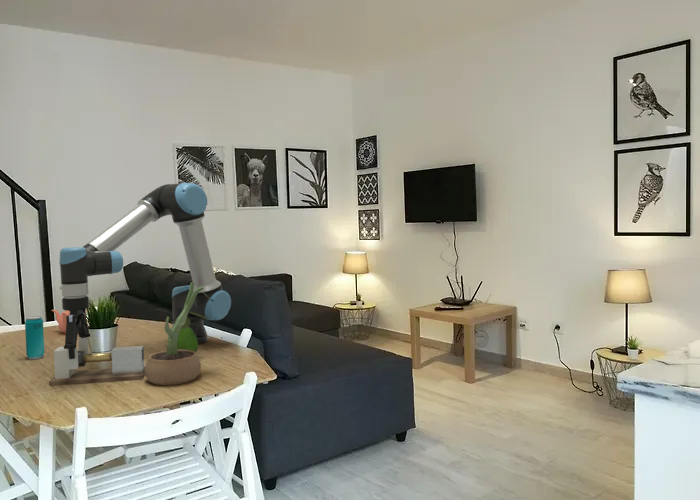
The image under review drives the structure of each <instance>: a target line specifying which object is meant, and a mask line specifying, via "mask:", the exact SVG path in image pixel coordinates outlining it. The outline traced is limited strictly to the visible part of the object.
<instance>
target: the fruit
mask: <svg viewBox="0 0 700 500" xmlns="http://www.w3.org/2000/svg"><path fill="white" fill-rule="evenodd" d="M198 348H199V344H198V341H197V338H196V336H195V334H194V332H193V330H192V329H191V328H190V327H187V328H184V329H180V332H179V336H178V340H177V350H179V349H181V350H191V351H194V352H196V353H197V351H198Z"/></svg>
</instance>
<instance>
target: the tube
mask: <svg viewBox="0 0 700 500" xmlns="http://www.w3.org/2000/svg"><path fill="white" fill-rule="evenodd" d="M101 362H112V352H111V351H110V352H108V351H107V352H93V353H92V352H91V353H90V352H89V353H88V354H86V351H85V350H82V351H79V350H78V368H79V367H80V368H81V367H86V364H87V363H101Z"/></svg>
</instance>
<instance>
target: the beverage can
mask: <svg viewBox="0 0 700 500" xmlns="http://www.w3.org/2000/svg"><path fill="white" fill-rule="evenodd" d="M24 329H25V349H26V350H25V352H26V354H25V355H26V356H27V358H28V359H29V360H40V359H43V357H44V355H45V335H44V320H43V316H42V315H34V316H33V315H32V316H27V317H26V318H25V321H24Z"/></svg>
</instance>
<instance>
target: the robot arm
mask: <svg viewBox="0 0 700 500" xmlns="http://www.w3.org/2000/svg"><path fill="white" fill-rule="evenodd" d="M207 206H208V197H207V195H206V192H205V190H204V189H203V188H202V187H201V186H199V185H198V184H195V183H191V182H190V183H189V182H179V183H167V184H163V185H161V186H158V187H157V188H155V189H153V190H152V191H151V192H149V193H148V194H146V195H145V196H143V197H142V198H141V199H140V200H138V201H137V206H135V207H134V208H133V209H130V210H129V211H128V212H127V213H126V214H124V215H123V216H122V217H121V218H119V219H117V220H116V221H115V222H114V223H113V224H111V225H110V226H108V227H107V228H106V229H105V230H103V231H102V232H100V233H99V234H98V235H97V236H95V237H94V238H93V239H91V240H90V241H89V242H88V243H86V244H85V245H83V246H74V247H64V248H62V249H60V251H59V267H60V268H59V269H60V283H61V284H60V285H61V286H59V290H60V291H61V297H62V299H61V305H62V307H61V308H62V310H64V311H70V315H67V316H66V334H65V336H64V337H65V338H64V339H65V340H64V345H63V347H64V349H67V355H68V370H69V369H74V370H78V369H79V367H78V351H82V350H85V351H86V354H89V338H91V333H90V330H89V327H88V324H87V319H86V312H87V309H88V308H90V304H89V303H90V299H89V296H88V295H89V282H88V281H89V278H88V277H92V276H101V275H113V274H117V273H120V272H121V271H122V270H123V268H124V258H123V256H122V255H123V254H121V253H120V252H119V251H118V250H117V249H118V248H119V247H121V246H122V245H123V244H124V243H126V242H127V241H128V240H130V239H131V238H132V237H134V235H136V234H137V233H138V232H140V231H141V230H142V229H143V228H145V227H146V226H148V225H149V224H150V223H152V222H154V223H155V222H157V221H159V219H161V218H163V217H167V216H171V218H172V221H173V224H175V225H176V226H178V227H179V232H180V233H179V234H180V236H181V240H182V245H183V247H184V252H185V256H186V260H187V265H188V267H189V271H190V276H191V280H192V282H193V283H194V289H193V292H194V291H195V290H196V289H197V288H199V287H202V286H203V289H204V290H201V291H200V292H198V294H197V295H196V298H195V300H194V303H193V305H192V307H191V309H190V310H189V311H191V312H194V313H197V314H200V315H203V316H205V317H207V318H208V319H209V320H208V321H220V320H222V319H224V318H225V317H226V316H227V315H228V313H229V310H230V309H231V306H232V299H231V295H230V294H229V293H228V292H227V291H226V290H223V287H222V283H221V282H220V281H219V280H217V279H216V274H215V271H214V266H213V263H212V257H211V254H210V250H209V246H208V245H209V244H208V242H207V237H206V234H205V228H204V225H203V219H204V217H206V215H205V211H206V209H207ZM189 288H190V284H189V285H183V286H176V287H174V288H173V289H172V293H171V300H172V301H171V304H172V305H171V306H172V322H174V323H172V327H173V326H174V324H175V319H176V318H177V317H179V315H180V314H181V313H182V311H183V309H184V305H185V302H186V298H187V296H188V293H189ZM203 292H204V293H205V294H206V295H207V296H208V297H209V298H210V299H211V300H212V301H211V300H210V299H209V298H208V297H207V296H206V295H205V294H204V293H203ZM85 311H86V312H85ZM187 317H188V318H189V319H190V325H189V326H188V327H190V328H191V329H192V330H193V332H194V334H195V336H196V338H197V341H198V345H200V344H204V343H206V342H208V339H209V338H208V333H207V331H206V327H205V325H204V320H206V319H205V318H202V317H200V316H197V315H194V314H191V313H188V315H187ZM172 327H171V328H172ZM78 337H79V338H78ZM77 342H78V343H77ZM77 344H78V346H77Z"/></svg>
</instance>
